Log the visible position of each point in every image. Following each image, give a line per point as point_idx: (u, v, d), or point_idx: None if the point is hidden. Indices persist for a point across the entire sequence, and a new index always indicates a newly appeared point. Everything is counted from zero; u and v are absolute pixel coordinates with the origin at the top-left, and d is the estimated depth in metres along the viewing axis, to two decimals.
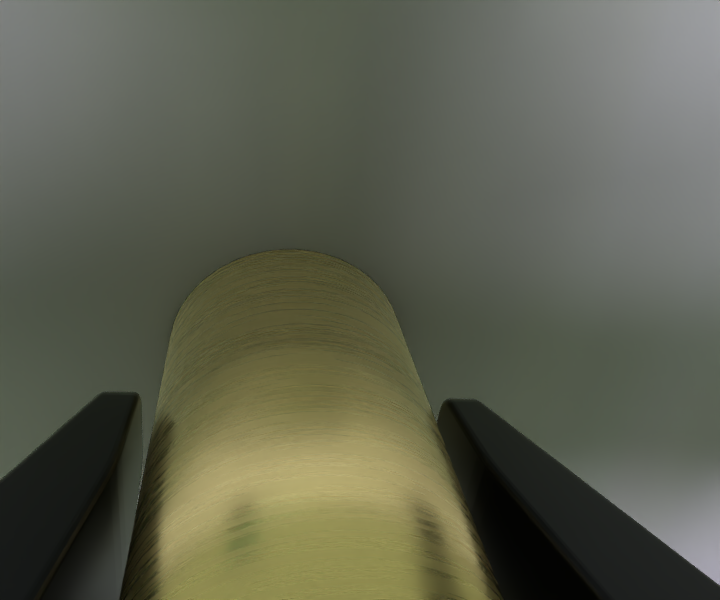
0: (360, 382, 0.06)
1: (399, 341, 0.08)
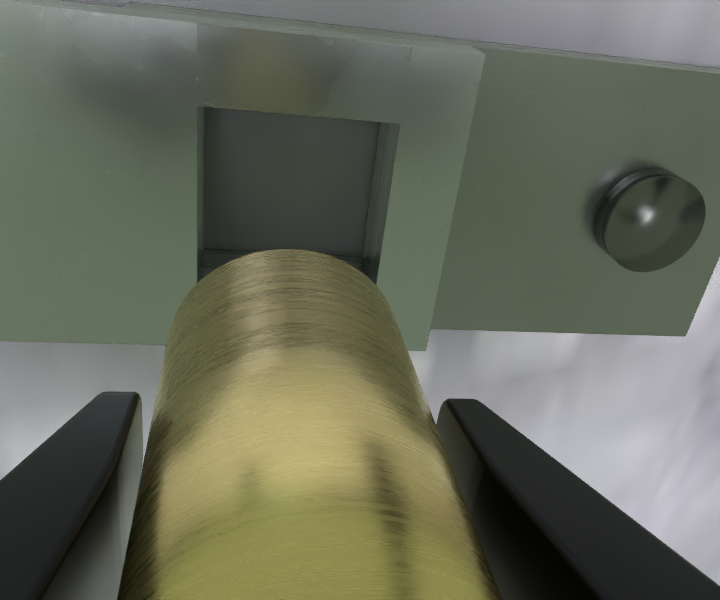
0: (357, 381, 0.06)
1: (397, 340, 0.08)
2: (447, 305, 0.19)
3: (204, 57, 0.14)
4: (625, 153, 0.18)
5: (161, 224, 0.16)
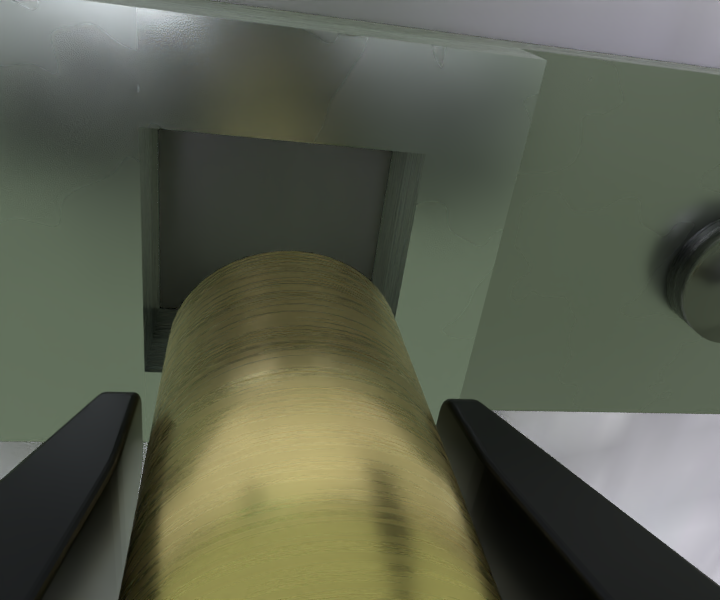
0: (358, 384, 0.06)
1: (398, 343, 0.08)
2: (474, 381, 0.15)
3: (148, 57, 0.10)
4: (713, 193, 0.14)
5: (92, 288, 0.11)
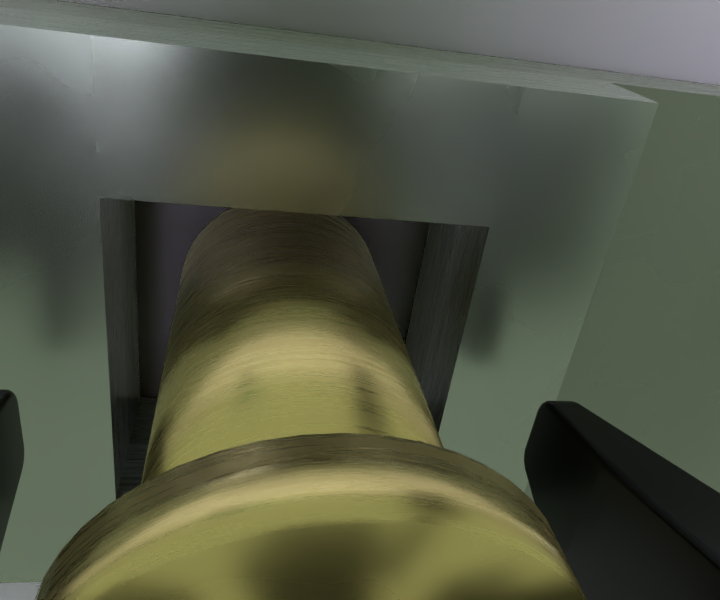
0: (334, 285, 0.08)
1: (370, 268, 0.09)
2: None
3: (109, 104, 0.07)
4: None
5: (43, 402, 0.08)
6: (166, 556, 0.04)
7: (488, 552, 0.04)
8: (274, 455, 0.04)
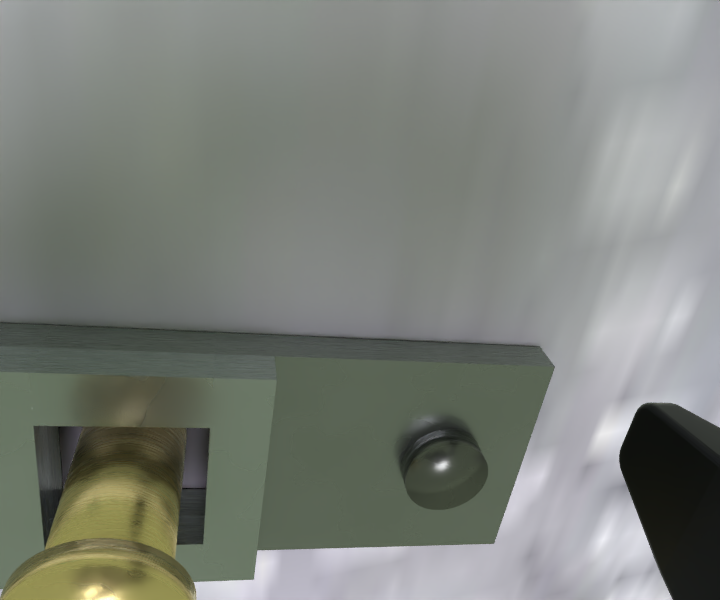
0: (137, 456, 0.18)
1: (170, 435, 0.20)
2: (278, 532, 0.22)
3: (36, 394, 0.17)
4: (419, 420, 0.21)
5: (9, 505, 0.18)
6: (38, 576, 0.14)
7: (134, 574, 0.14)
8: (75, 546, 0.14)
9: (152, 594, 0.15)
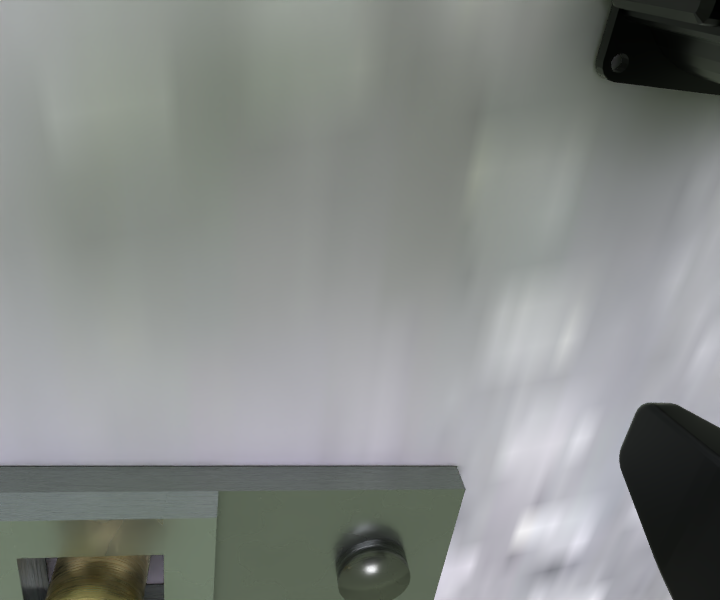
0: (102, 580, 0.22)
1: None
2: None
3: (17, 536, 0.21)
4: (349, 534, 0.25)
5: None
6: None
7: None
8: None
9: None
